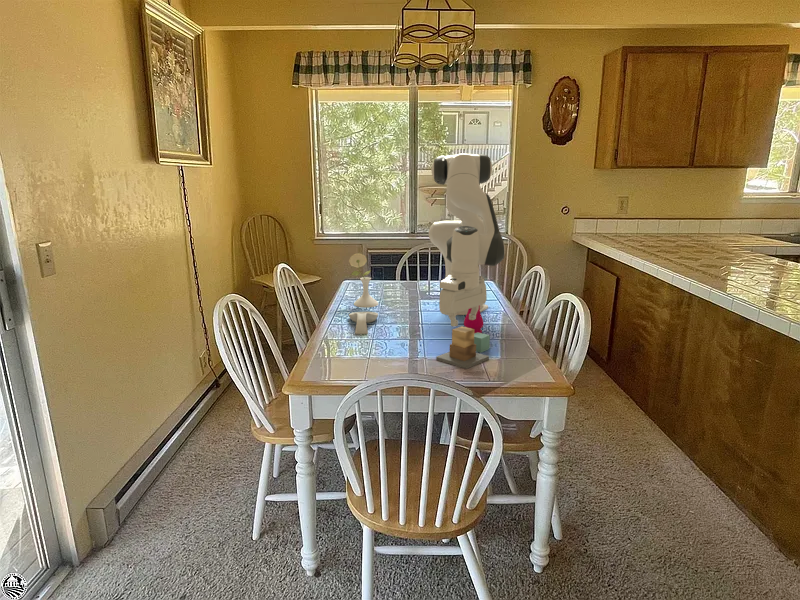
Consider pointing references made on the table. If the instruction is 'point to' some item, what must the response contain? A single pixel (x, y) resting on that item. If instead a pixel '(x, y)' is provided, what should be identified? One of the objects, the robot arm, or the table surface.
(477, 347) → the block
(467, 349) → the base block
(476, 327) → the pepper mill
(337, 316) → the table surface
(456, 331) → the block
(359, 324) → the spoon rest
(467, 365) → the build board
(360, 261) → the flower in vase
